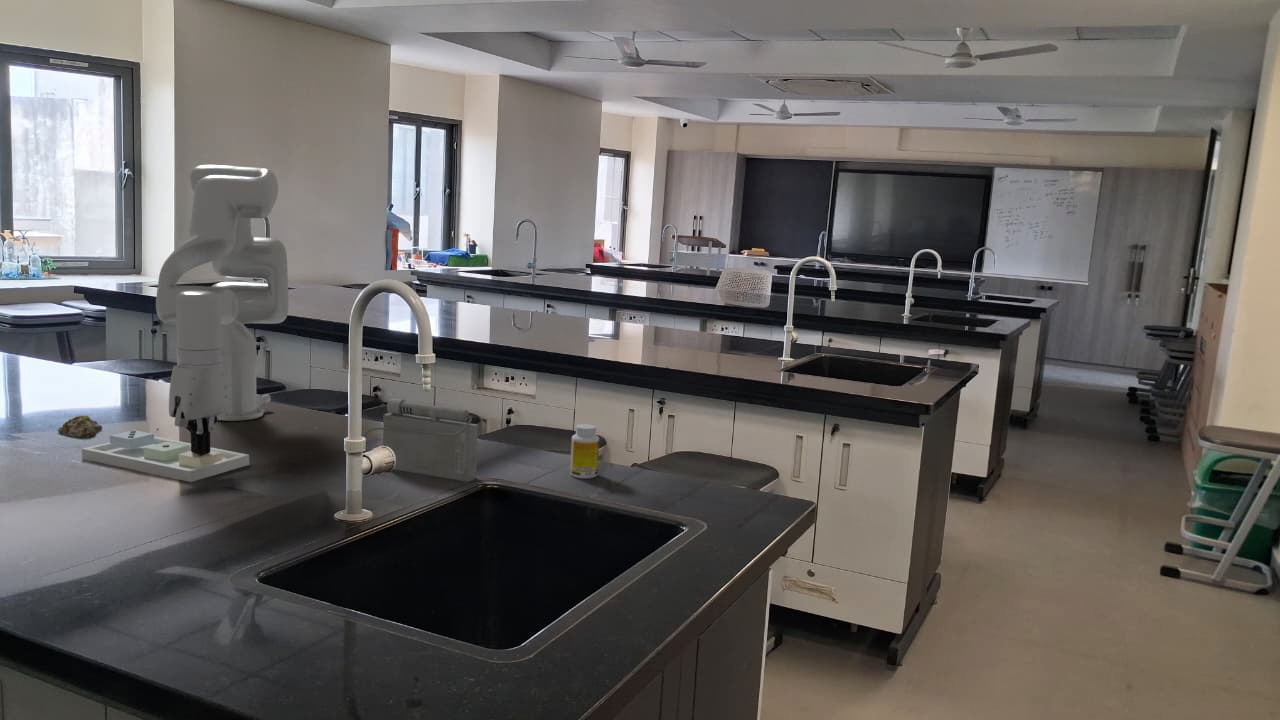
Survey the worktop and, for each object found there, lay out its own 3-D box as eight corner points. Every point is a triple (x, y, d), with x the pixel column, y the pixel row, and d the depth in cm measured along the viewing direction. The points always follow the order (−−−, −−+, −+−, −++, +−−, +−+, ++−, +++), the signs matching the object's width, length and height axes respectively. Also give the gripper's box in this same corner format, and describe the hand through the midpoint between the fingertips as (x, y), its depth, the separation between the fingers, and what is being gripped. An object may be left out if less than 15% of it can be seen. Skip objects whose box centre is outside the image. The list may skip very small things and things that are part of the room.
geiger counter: (482, 407, 184) (372, 392, 192) (466, 413, 178) (353, 397, 186) (480, 477, 186) (371, 459, 194) (463, 485, 180) (352, 466, 188)
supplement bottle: (601, 479, 190) (603, 429, 188) (574, 480, 188) (576, 429, 186) (592, 471, 195) (595, 422, 193) (566, 472, 193) (568, 423, 191)
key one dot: (167, 451, 187) (167, 440, 187) (187, 455, 185) (187, 444, 185) (144, 457, 182) (143, 446, 182) (164, 461, 180) (164, 450, 180)
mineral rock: (51, 419, 203) (92, 406, 207) (58, 438, 204) (99, 424, 209) (60, 432, 194) (102, 418, 199) (67, 451, 196) (109, 437, 201)
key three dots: (134, 439, 190) (134, 429, 190) (154, 443, 189) (153, 433, 188) (110, 445, 186) (110, 434, 185) (130, 449, 184) (130, 438, 183)
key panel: (144, 443, 196) (144, 434, 195) (249, 464, 185) (249, 454, 185) (82, 458, 183) (81, 448, 182) (190, 482, 172) (190, 471, 172)
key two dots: (201, 458, 184) (201, 447, 184) (223, 462, 182) (222, 451, 182) (178, 464, 179) (178, 453, 179) (200, 468, 177) (200, 457, 177)
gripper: (215, 350, 186) (216, 442, 188) (150, 359, 172) (152, 458, 175) (245, 354, 183) (246, 447, 186) (181, 364, 169) (183, 464, 172)
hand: (200, 452), depth 180 cm, fingers closed
